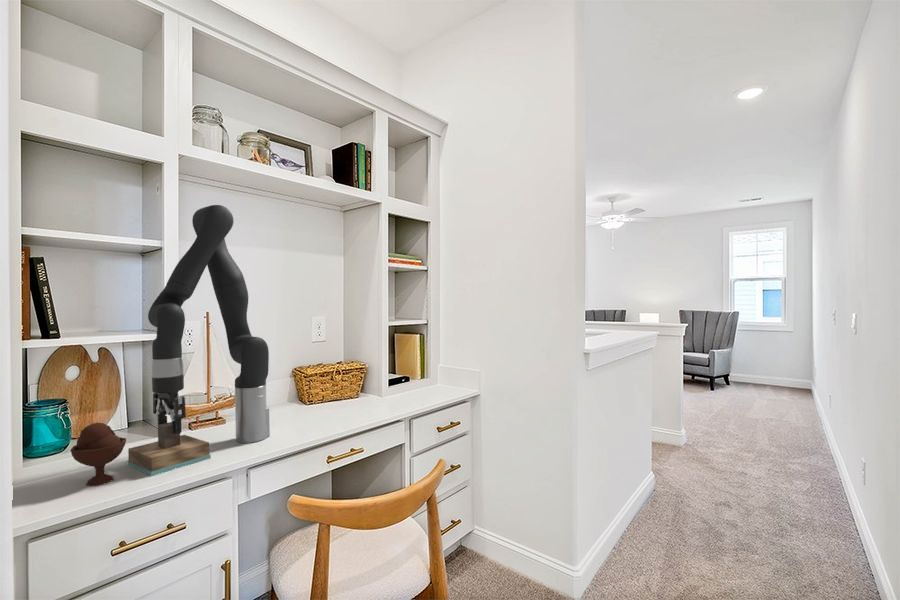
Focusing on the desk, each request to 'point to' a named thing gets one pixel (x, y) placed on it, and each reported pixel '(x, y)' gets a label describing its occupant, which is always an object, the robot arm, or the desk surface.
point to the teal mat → (167, 467)
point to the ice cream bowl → (98, 450)
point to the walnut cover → (167, 450)
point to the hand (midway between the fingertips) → (169, 431)
